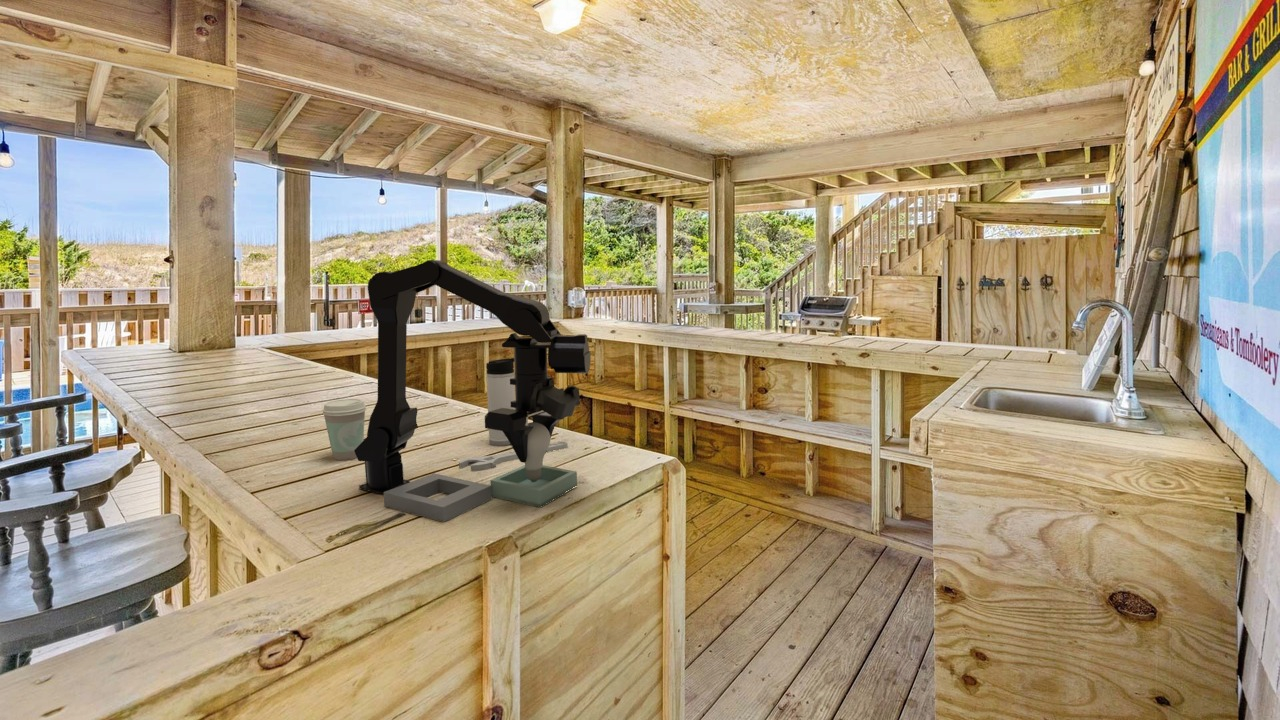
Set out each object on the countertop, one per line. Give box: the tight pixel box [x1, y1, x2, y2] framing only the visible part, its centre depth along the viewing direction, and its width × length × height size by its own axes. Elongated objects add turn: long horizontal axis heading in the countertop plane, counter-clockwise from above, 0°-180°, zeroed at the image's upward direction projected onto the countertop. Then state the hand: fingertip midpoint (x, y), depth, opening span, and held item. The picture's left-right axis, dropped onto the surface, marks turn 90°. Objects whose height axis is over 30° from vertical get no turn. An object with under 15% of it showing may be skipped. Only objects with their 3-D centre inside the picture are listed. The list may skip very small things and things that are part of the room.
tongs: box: [325, 512, 406, 547], centre depth 93 cm, size 4×13×2 cm, turn 153°
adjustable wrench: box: [458, 441, 568, 472], centre depth 128 cm, size 25×6×2 cm, turn 125°
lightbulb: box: [524, 421, 551, 482], centre depth 107 cm, size 6×6×11 cm
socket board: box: [383, 472, 492, 523], centre depth 103 cm, size 14×11×2 cm
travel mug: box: [485, 357, 516, 447], centre depth 138 cm, size 6×7×20 cm
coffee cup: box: [321, 398, 367, 461], centre depth 129 cm, size 9×8×12 cm
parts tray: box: [489, 464, 578, 508], centre depth 108 cm, size 11×11×3 cm
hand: (533, 457), depth 107 cm, fingers closed on lightbulb, 5 cm apart
